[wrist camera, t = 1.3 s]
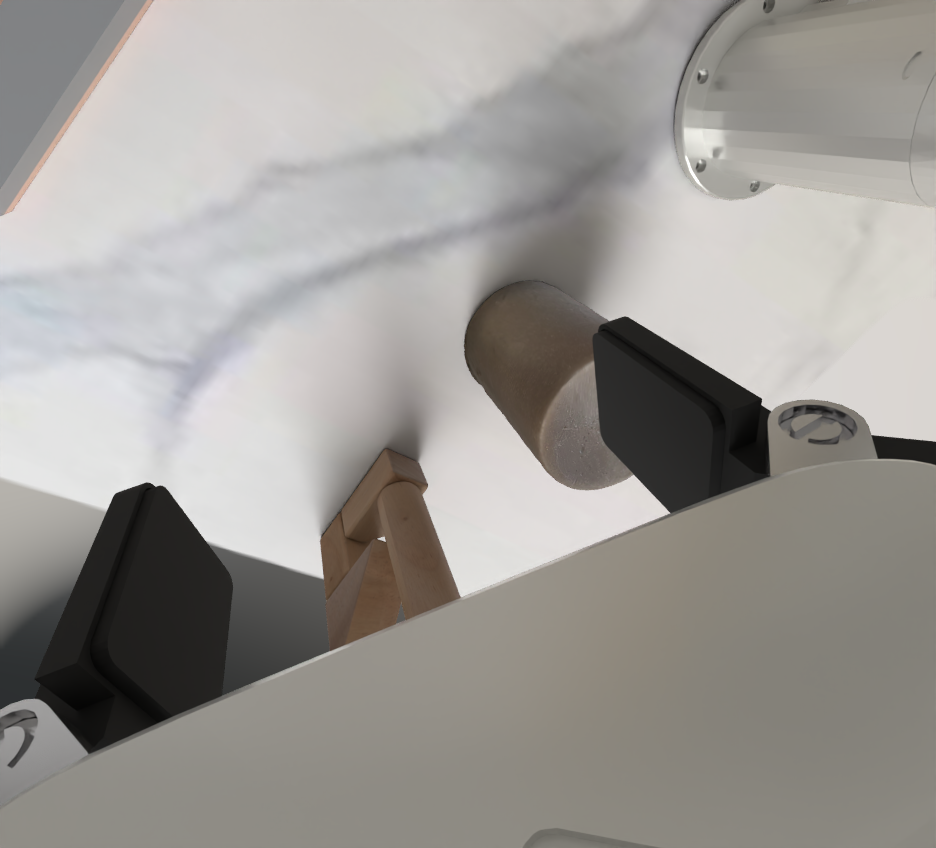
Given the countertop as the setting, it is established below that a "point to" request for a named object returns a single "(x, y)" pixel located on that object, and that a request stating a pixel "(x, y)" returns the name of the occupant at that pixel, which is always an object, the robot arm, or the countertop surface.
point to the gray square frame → (51, 75)
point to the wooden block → (383, 554)
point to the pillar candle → (545, 379)
